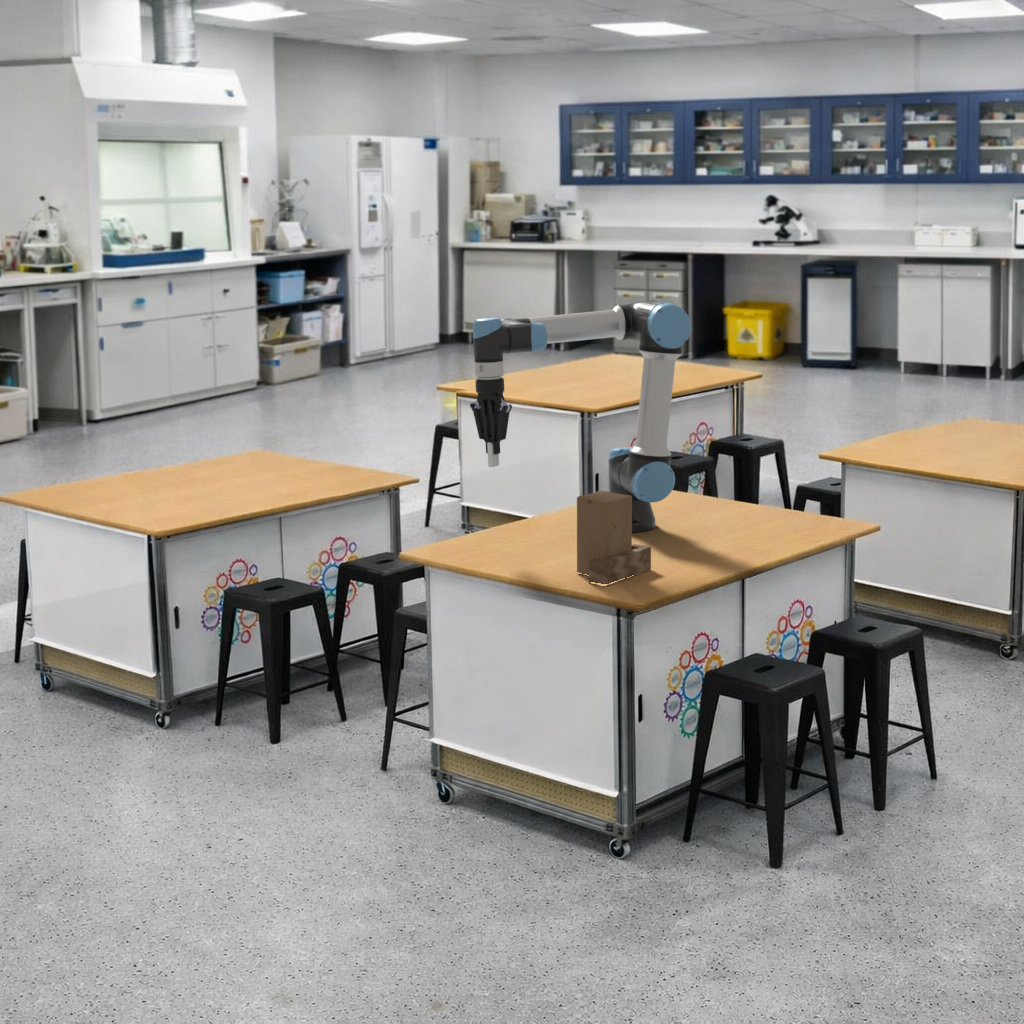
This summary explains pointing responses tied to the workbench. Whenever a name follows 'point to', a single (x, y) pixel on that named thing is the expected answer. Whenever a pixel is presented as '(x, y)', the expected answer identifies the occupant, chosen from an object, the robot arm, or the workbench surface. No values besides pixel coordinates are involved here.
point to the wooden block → (602, 527)
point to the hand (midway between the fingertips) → (493, 466)
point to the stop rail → (620, 565)
